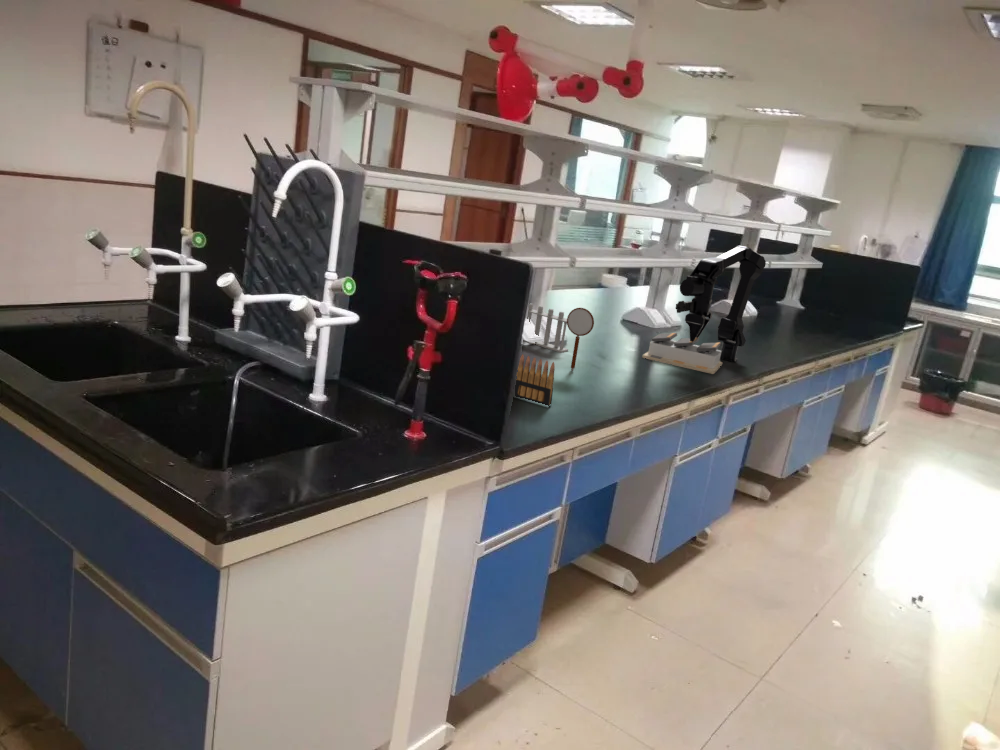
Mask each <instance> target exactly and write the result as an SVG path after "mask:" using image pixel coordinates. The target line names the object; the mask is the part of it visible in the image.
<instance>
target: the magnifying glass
mask: <svg viewBox="0 0 1000 750" xmlns="http://www.w3.org/2000/svg"><path fill="white" fill-rule="evenodd" d="M566 319H567V325H566V326H567V328H568V329H569V331H570V332H571V333H572V334H573V335H575V340H574V346H573V351H572V359H571V365H570V371H571V372H573V371H574V369H575V368H576V362H577V357H578V356H577V355H578V351H579V344H580V338H581V337H583V336H587V335H588V334H590V333H591V332H592V330H593V328H594V325H595V319H594V316H593V314H592V313H591V312H590V311H589V309H586V308H585V307H576V308H574V309H572V310H571V311H570V312H569V313H568V315H567V318H566Z"/></svg>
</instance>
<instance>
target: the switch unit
mask: <svg viewBox="0 0 1000 750" xmlns="http://www.w3.org/2000/svg"><path fill="white" fill-rule="evenodd" d="M677 341H678V340H674V339H672V340H670V341H652V340H651V341H649V347H648V351H646V352H645V353H643V354H642V357H641V358H642V359H645V358H646V359H647V360H650V361H654V360H655V361H656V362H658V361H659V363H664V364H668V365H671V364H672V366H676V367H680V368H685V369H688V370H689V369H690V370H694V371H698V372H703V373H707V374H709V375H710V374H711V375H714V374H715V373H716V372H717V371H718V370H719V369H720V368H721V367H722V365H723V362H722V361H721V359H720V356H721V352H722V351H721V349H717V350H716V351H697V348H698V347H699V346H700V345H697V344H694V345H693V346H674V343H675V342H677ZM655 361H654V362H655ZM720 366H721V367H720Z"/></svg>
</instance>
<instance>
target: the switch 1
mask: <svg viewBox="0 0 1000 750" xmlns="http://www.w3.org/2000/svg"><path fill="white" fill-rule="evenodd" d="M677 336H678V333H677V332H669V333H659V334H657V335H656V336H654V337H652V338H651V342H652V341H670V340H674V338H676V337H677Z"/></svg>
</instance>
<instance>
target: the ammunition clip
mask: <svg viewBox="0 0 1000 750" xmlns="http://www.w3.org/2000/svg"><path fill="white" fill-rule="evenodd" d="M518 362H519V363H518V367H517V370H518V372H517V371H516V376H517V379H516V378H515V379H516V385H515V396H516V397H520V398H525V399H528V400H532V401H535V402H538V403H542V404H545V405H548V406H549V405H550V404H551V405H552V400H553V392H554V381H555V369H556V368H555V362H554V361H553V362H552V363H551V365H550V368H549V361H548V360H546V361H545V363H544V366H543V360H542V359H541V358H540V359H539V360H538V362H537V359H536V357H533V358H532V361H531V357H530V355H528V356H527V358H526V360H525V356H524V354H523V353H522V355H521V356H520V358H519V361H518ZM537 363H538V364H537ZM536 367H537V368H536ZM542 368H543V370H542Z"/></svg>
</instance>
